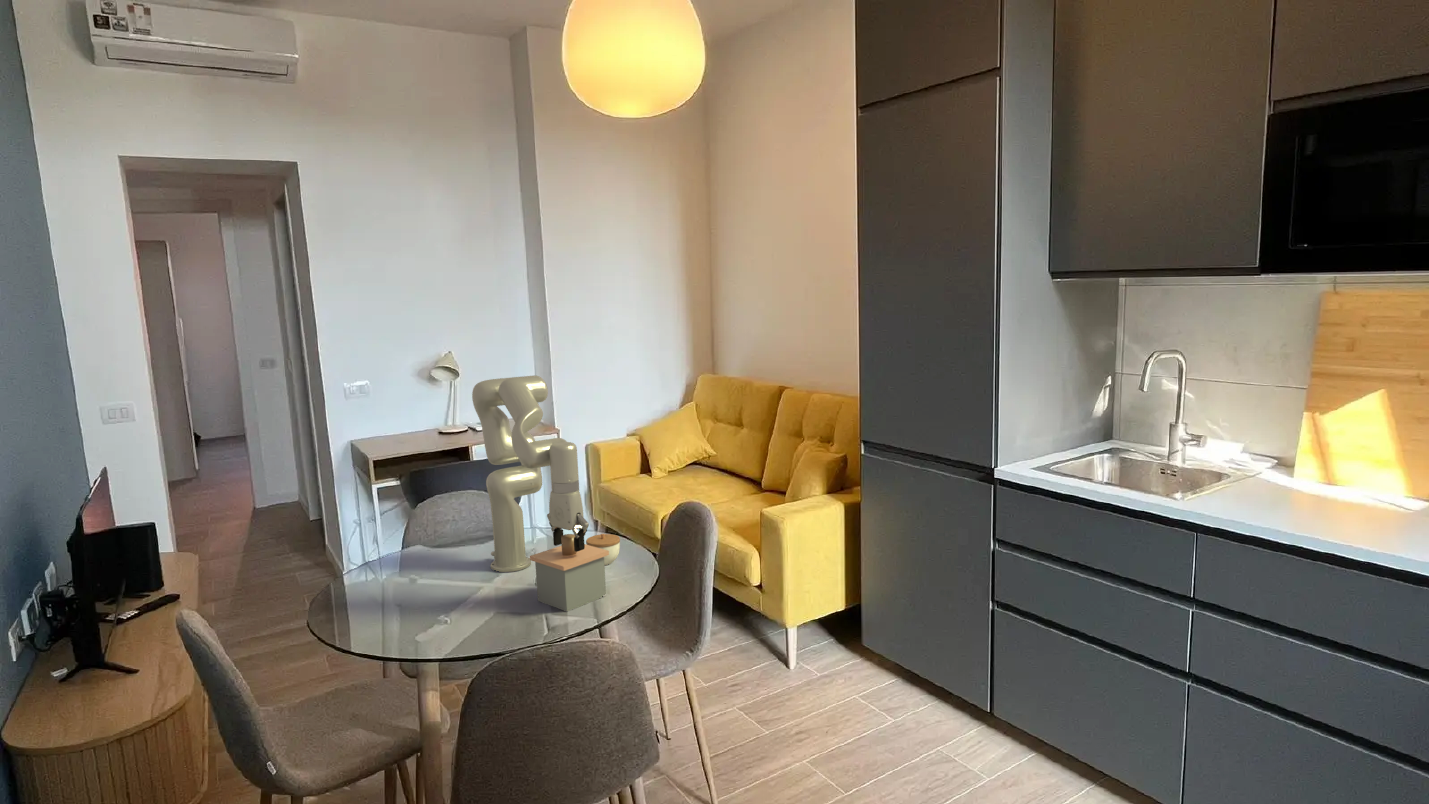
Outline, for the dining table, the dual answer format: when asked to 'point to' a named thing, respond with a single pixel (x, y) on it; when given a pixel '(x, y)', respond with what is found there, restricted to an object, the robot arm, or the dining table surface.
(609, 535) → the lidded jar
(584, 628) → the dining table surface
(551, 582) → the storage box
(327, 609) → the dining table surface
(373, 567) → the dining table surface
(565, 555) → the lid
